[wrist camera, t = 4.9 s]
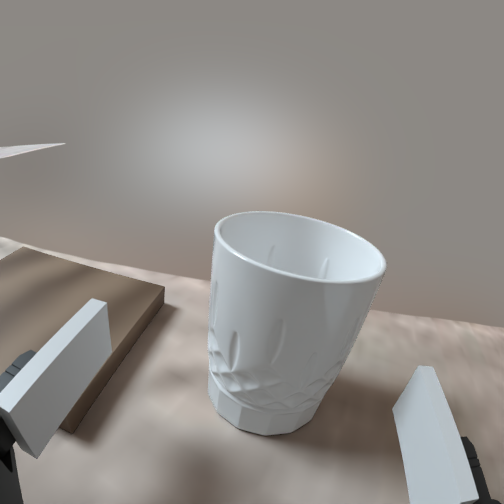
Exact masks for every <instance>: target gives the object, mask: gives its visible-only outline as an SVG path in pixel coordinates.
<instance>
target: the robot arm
mask: <svg viewBox="0 0 504 504" xmlns="http://www.w3.org/2000/svg"><path fill="white" fill-rule="evenodd" d="M111 353H112V347H111V339H110V330H109V321H108V310H107V303H106V302H103V301H100V300H97V299H93V298H92V299H90V300H89V301H88V302H87V303H86V304H85V305H84V306H83V307H82V308H81V309H80V310H79V311H78V312H77V313H76V314H75V315H74V316H73V317H72V318H71V319H70V320H69V321H68V322H67V323H66V324H65V325H64V326H63V327H62V328H61V329H60V330H59V331H58V332H57V333H56V334H55V335H54V336H53V337H52V338H51V339H50V340H49V341H48V342H47V343H46V344H45V345H44V346H43V347H42V348H41V349H40V350H39V351H38V352H35V351H33V350H29V351H27V352H25V353H23V354H21V355H19V356H18V357H17V358H16V359H15V361H14V362H13V363H12V365H11V366H9V367H8V368H7V369H6V370H5V372H3V373H2V374H1V375H0V504H24V503H23V499H22V494H21V489H20V484H19V479H18V473H17V467H16V460H15V453H14V449H13V446H12V445H13V444H14V443H15V441H16V442H17V443H18V445H19V446H20V448H21V449H22V450H23V451H25V452H26V453H28V454H30V455H31V456H33V457H35V458H36V459H38V457H39V456H40V454H41V453H42V451H43V450H44V448H45V447H46V445H47V443H48V442H49V441H50V439H51V438H52V436H53V435H54V433H55V432H56V430H57V429H58V427H59V426H60V424H61V423H62V421H63V420H64V418H65V417H66V416H67V414H68V413H69V411H70V410H71V408H72V407H73V406H74V404H75V403H76V401H77V400H78V398H79V397H80V396H81V394H82V393H83V391H84V390H85V389H86V387H87V386H88V384H89V383H90V382H91V380H92V379H93V377H94V376H95V375H96V373H97V372H98V371H99V369H100V368H101V366H102V365H103V364H104V362H105V361H106V360H107V358H108V357H109V356H110V354H111ZM392 410H393V414H394V419H395V423H396V428H397V433H398V437H399V442H400V447H401V452H402V458H403V463H404V468H405V474H406V480H407V486H408V492H409V499H410V504H501V503H500V502H499V501H497V500H494V499H491V498H490V495H489V492H488V488H487V485H486V482H485V478H484V475H483V472H482V469H481V467H480V463H479V460H478V459H477V454H476V451H475V448H474V446H473V444H472V443H471V442H470V441H469V439H468V438H467V437H460V435H459V432H458V429H457V427H456V424H455V421H454V418H453V416H452V413H451V410H450V408H449V405H448V403H447V400H446V397H445V395H444V392H443V390H442V388H441V385H440V383H439V380H438V378H437V375H436V373H435V371H434V368H433V367H429V366H419V365H418V367H417V369H416V370H415V372H414V374H413V376H412V377H411V379H410V381H409V382H408V384H407V386H406V387H405V389H404V391H403V392H402V394H401V396H400V397H399V399H398V400H397V402H396V404H395V405H394V407H393V408H392Z"/></svg>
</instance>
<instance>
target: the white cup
mask: <svg viewBox="0 0 504 504" xmlns="http://www.w3.org/2000/svg"><path fill="white" fill-rule="evenodd" d="M212 258H213V259H212V271H211V272H212V273H211V286H210V301H209V318H208V355H209V379H208V394H209V397H210V399H211V401H212V403H213V405H214V407H215V409H216V411H217V413H218V414H220V415H221V416H222V417H224V418H225V419H226V420H227V421H229V422H230V423H231V424H233V425H234V426H235V427H237V428H239V429H242V430H245V431H249V432H253V433H256V434H260V435H264V436H266V435H276V434H284V433H291V432H293V431H295V430H296V429H298V428H300V427H301V426H303V425H304V424H306V423H308V422H309V421H310V420H311V419H312V417H313V416H314V414H315V412H316V410H317V408H318V406H319V404H320V402H321V401H322V399H323V397H324V396H325V394H326V392H327V390H328V389H329V388H330V387H331V385H333V383H334V381H335V379H336V377H337V376H338V374H339V372H340V370H341V369H342V367H343V365H344V363H345V361H346V359H347V357H348V355H349V353H350V351H351V349H352V347H353V345H354V343H355V341H356V339H357V336H358V334H359V332H360V330H361V328H362V325H363V323H364V321H365V319H366V316H367V314H368V312H369V310H370V307H371V305H372V303H373V300H374V298H375V296H376V293H377V291H378V288H379V286H380V284H381V281H382V279H383V276H384V274H385V271H386V268H387V263H386V260H385V258H384V256H383V255H382V253H381V252H380V251H379V250H378V249H377V248H376V247H375V246H374V245H372V244H371V243H370V242H368V241H367V240H365V239H363V238H362V237H360V236H358V235H356V234H354V233H352V232H350V231H348V230H346V229H343V228H341V227H338V226H336V225H333V224H330V223H327V222H324V221H321V220H317V219H313V218H309V217H305V216H300V215H294V214H288V213H280V212H265V211H254V212H243V213H237V214H233V215H230V216H227V217H225V218H223V219H221V220H220V221H219V222H218V223H217V224H216V226H215V229H214V243H213V257H212Z"/></svg>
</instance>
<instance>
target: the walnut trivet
mask: <svg viewBox="0 0 504 504" xmlns="http://www.w3.org/2000/svg"><path fill="white" fill-rule="evenodd" d="M164 292H165V287H164V286H160V285H156V284H152V283H149V282H145V281H141V280H137V279H133V278H129V277H126V276H122V275H118V274H115V273H111V272H107V271H104V270H100V269H96V268H93V267H89V266H86V265H82V264H79V263H75V262H72V261H69V260H65V259H62V258H58V257H55V256H52V255H48V254H45V253H42V252H39V251H35V250H32V249H29V248H26V247H22V248H20V249H18V250H17V251H15V252H13V253H11V254H10V255H8V256H6V257H5V258H3V259H1V260H0V375H1V374H2V373H3V372H5V370H6V369H7V368H8V367H9V366H11V365H12V363H13V362H14V361H15V359H16V358H17V357H18V356H19V355H21V354H23V353H25V352H27V351H29V350H33V351H35V352H38V351H39V350H40V349H41V348H42V347H43V346H44V345H45V344H46V343H47V342H48V341H49V340H50V339H51V338H52V337H53V336H54V335H55V334H56V333H57V332H58V331H59V330H60V329H61V328H62V327H63V326H64V325H65V324H66V323H67V322H68V321H69V320H70V319H71V318H72V317H73V316H74V315H75V314H76V313H77V312H78V311H79V310H80V309H81V308H82V307H83V306H84V305H85V304H86V303H87V302H88V301H89V300H90V299H92V298H93V299H97V300H100V301H103V302H106V303H107V310H108V321H109V330H110V339H111V347H112V353H111V354H110V356H109V357H108V358H107V360H106V361H105V362H104V364H103V365H102V366H101V368H100V369H99V371H98V372H97V373H96V375H95V376H94V377H93V379H92V380H91V382H90V383H89V384H88V386H87V387H86V389H85V390H84V391H83V393H82V394H81V396H80V397H79V398H78V400H77V401H76V403H75V404H74V406H73V407H72V408H71V410H70V411H69V413H68V414H67V416H66V417H65V418H64V420H63V421H62V423H61V424H60V426H59V427H60V428H62V429H64V430H66V431H68V432H70V433H72V434H73V432H74V431H75V429H76V428H77V426H78V425H79V423H80V422H81V420H82V419H83V417H84V416H85V414H86V413H87V411H88V410H89V408H90V407H91V405H92V404H93V402H94V401H95V399H96V398H97V396H98V395H99V394H100V392H101V391H102V389H103V388H104V386H105V385H106V383H107V382H108V380H109V379H110V378H111V376H112V375H113V373H114V372H115V370H116V369H117V368H118V366H119V365H120V363H121V362H122V360H123V359H124V358H125V356H126V355H127V353H128V352H129V351H130V349H131V348H132V346H133V345H134V343H135V342H136V341H137V339H138V338H139V336H140V335H141V334H142V332H143V331H144V330H145V328H146V327H147V325H148V324H149V323H150V321H151V320H152V319H153V317H154V316H155V314H156V313H157V312H158V310H159V309H160V308H161V306H162V305H163V303H164Z"/></svg>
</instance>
